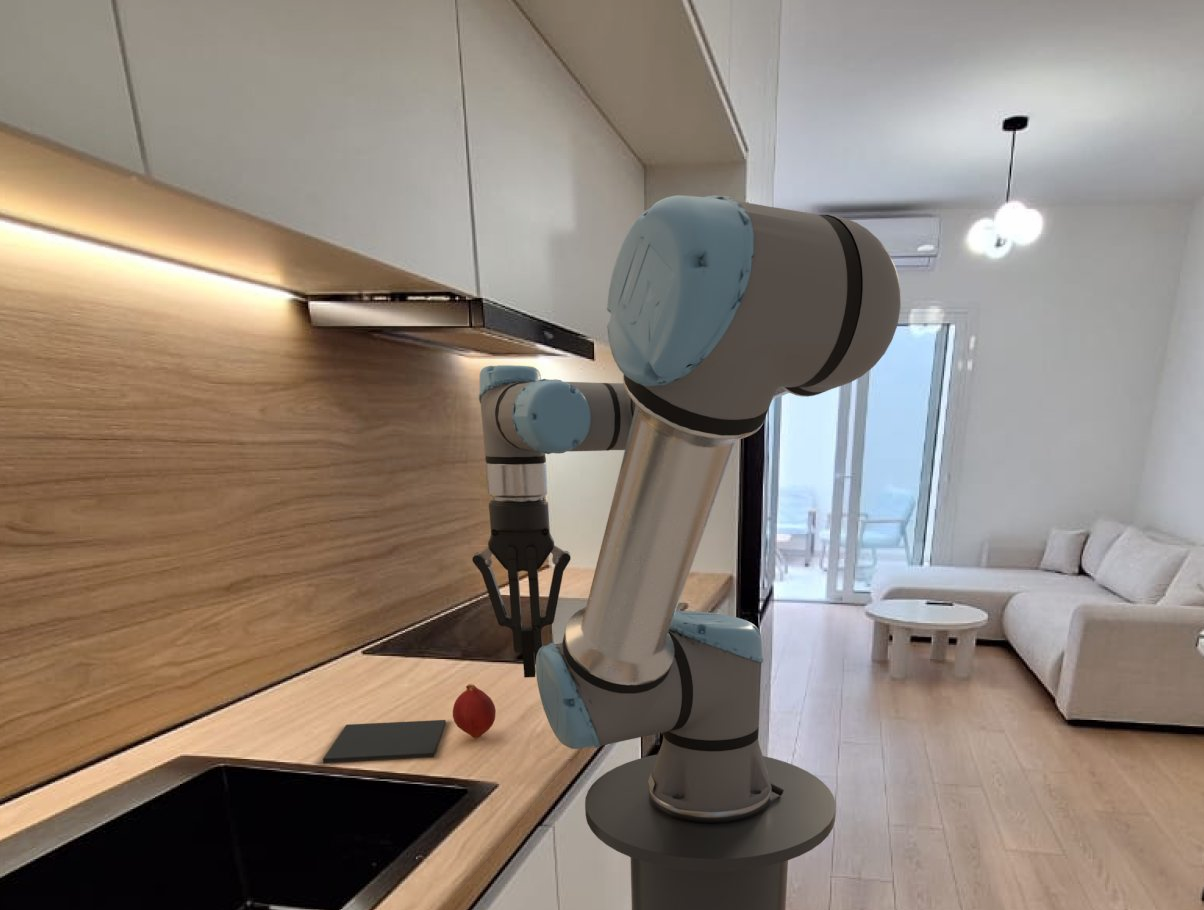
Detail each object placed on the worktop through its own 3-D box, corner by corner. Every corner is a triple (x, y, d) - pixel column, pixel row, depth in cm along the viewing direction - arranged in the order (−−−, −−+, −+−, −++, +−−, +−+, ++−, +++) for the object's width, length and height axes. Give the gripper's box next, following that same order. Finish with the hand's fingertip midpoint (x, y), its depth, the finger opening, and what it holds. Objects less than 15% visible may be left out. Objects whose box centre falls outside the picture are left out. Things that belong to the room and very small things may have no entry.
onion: (465, 729, 117) (460, 676, 114) (503, 731, 116) (499, 678, 113) (448, 743, 112) (442, 688, 109) (488, 746, 111) (483, 690, 108)
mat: (445, 723, 119) (445, 719, 119) (434, 756, 107) (433, 752, 107) (346, 728, 117) (346, 724, 117) (323, 762, 105) (322, 758, 105)
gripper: (569, 495, 108) (576, 665, 116) (469, 496, 106) (484, 668, 115) (569, 500, 101) (577, 680, 110) (463, 501, 99) (479, 684, 108)
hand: (530, 674), depth 112 cm, fingers closed
